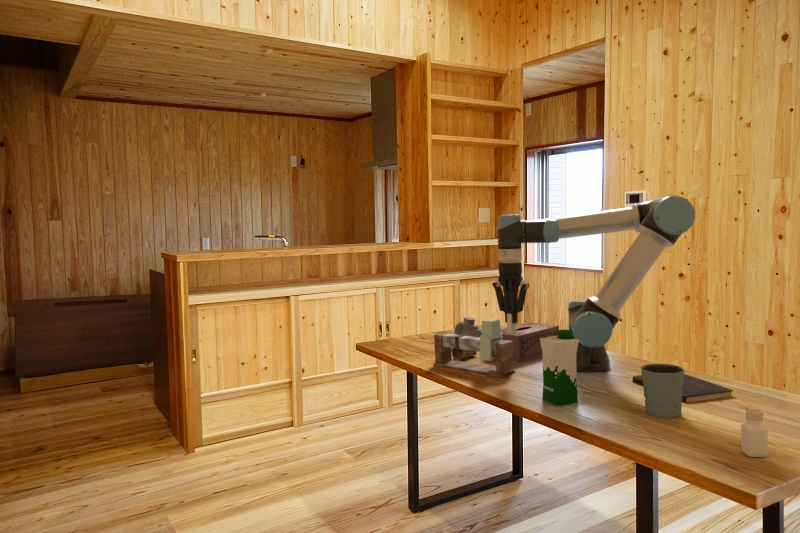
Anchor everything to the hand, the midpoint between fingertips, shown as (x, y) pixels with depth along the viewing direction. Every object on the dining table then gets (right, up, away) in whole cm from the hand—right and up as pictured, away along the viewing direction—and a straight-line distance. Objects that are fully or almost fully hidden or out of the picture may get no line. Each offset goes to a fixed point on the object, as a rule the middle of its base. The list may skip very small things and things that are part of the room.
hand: (511, 332), depth 194 cm
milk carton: (+8, -17, -27) cm, 33 cm away
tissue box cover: (+11, -12, +32) cm, 36 cm away
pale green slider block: (-6, -9, +6) cm, 12 cm away
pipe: (-14, -13, +32) cm, 37 cm away
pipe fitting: (-7, -10, +59) cm, 60 cm away
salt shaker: (+39, -19, -68) cm, 81 cm away
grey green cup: (+32, -17, -40) cm, 54 cm away
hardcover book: (+46, -15, -20) cm, 53 cm away
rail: (-11, -14, +12) cm, 22 cm away
